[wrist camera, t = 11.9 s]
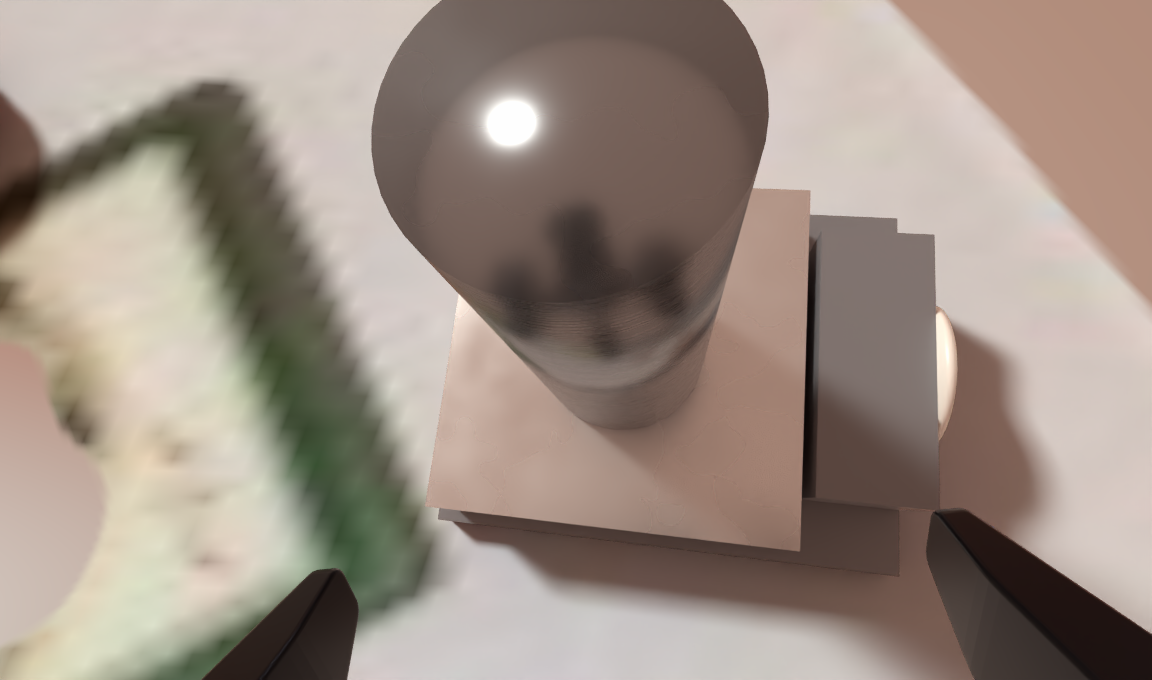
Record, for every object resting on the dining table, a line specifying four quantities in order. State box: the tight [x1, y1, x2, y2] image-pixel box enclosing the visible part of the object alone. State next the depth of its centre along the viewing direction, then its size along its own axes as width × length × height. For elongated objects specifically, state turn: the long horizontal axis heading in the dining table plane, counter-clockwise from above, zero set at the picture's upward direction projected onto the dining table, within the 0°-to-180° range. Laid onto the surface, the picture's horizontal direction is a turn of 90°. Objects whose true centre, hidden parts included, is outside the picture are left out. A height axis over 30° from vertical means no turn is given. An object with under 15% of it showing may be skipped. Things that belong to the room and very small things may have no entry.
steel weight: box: [372, 0, 769, 430], centre depth 14 cm, size 5×5×12 cm
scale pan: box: [425, 188, 810, 552], centre depth 21 cm, size 11×11×2 cm
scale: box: [438, 215, 958, 576], centre depth 21 cm, size 15×12×5 cm
